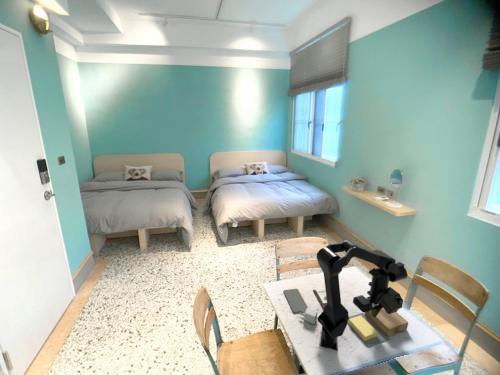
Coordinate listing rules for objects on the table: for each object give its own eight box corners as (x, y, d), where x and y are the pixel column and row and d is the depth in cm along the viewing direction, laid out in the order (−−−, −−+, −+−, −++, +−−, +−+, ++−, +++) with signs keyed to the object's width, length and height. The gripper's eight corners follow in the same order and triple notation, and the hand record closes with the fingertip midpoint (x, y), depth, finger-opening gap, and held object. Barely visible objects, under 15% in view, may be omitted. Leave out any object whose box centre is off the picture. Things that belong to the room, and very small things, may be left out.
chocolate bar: (328, 318, 106) (313, 289, 123) (328, 320, 106) (313, 291, 123) (349, 316, 107) (330, 288, 124) (348, 318, 107) (330, 290, 124)
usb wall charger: (314, 325, 103) (314, 317, 102) (297, 318, 107) (298, 310, 106) (316, 318, 107) (317, 310, 105) (301, 312, 110) (301, 304, 109)
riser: (382, 309, 112) (383, 301, 110) (406, 330, 101) (408, 322, 100) (364, 314, 108) (365, 307, 107) (387, 337, 98) (388, 329, 96)
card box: (349, 319, 103) (348, 323, 104) (365, 336, 95) (364, 340, 96) (360, 315, 105) (360, 319, 106) (377, 332, 97) (377, 336, 98)
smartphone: (297, 288, 124) (309, 310, 110) (297, 289, 125) (309, 312, 111) (282, 290, 123) (293, 312, 109) (282, 291, 123) (293, 314, 109)
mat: (362, 313, 109) (362, 312, 109) (389, 339, 97) (389, 338, 97) (343, 319, 106) (343, 318, 106) (368, 347, 94) (368, 346, 93)
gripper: (377, 303, 86) (370, 339, 91) (417, 291, 92) (409, 325, 97) (354, 283, 97) (349, 316, 101) (391, 273, 102) (385, 305, 107)
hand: (374, 316), depth 101 cm, fingers closed
